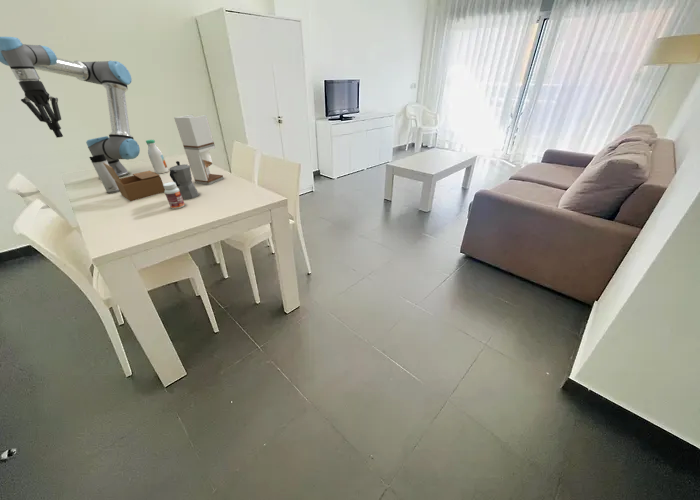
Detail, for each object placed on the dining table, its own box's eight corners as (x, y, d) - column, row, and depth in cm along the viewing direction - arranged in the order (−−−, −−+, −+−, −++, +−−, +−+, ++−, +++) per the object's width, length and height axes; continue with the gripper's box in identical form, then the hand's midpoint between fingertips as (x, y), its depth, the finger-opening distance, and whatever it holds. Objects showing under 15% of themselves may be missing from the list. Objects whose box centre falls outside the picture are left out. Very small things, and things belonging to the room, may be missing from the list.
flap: (122, 183, 137) (121, 184, 137) (114, 178, 145) (113, 178, 145) (112, 167, 132) (111, 167, 132) (103, 162, 140) (102, 163, 140)
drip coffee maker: (209, 184, 161) (189, 117, 143) (195, 182, 165) (174, 117, 146) (223, 178, 170) (206, 115, 152) (210, 176, 174) (191, 114, 155)
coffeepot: (186, 191, 152) (175, 158, 142) (204, 191, 152) (193, 157, 142) (171, 203, 139) (157, 166, 129) (190, 202, 139) (177, 166, 129)
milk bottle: (164, 173, 182) (152, 141, 171) (152, 174, 182) (139, 141, 172) (171, 170, 189) (159, 138, 178) (159, 170, 189) (147, 139, 178)
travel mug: (114, 193, 152) (95, 156, 142) (104, 193, 153) (85, 155, 143) (124, 189, 157) (107, 153, 147) (114, 189, 159) (96, 152, 148)
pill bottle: (183, 208, 133) (174, 185, 127) (169, 209, 132) (159, 186, 126) (186, 203, 138) (178, 181, 132) (172, 204, 137) (164, 182, 131)
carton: (130, 201, 142) (122, 183, 137) (121, 195, 150) (113, 178, 145) (166, 191, 153) (159, 174, 148) (156, 186, 161) (149, 170, 156)
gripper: (5, 81, 120) (39, 139, 132) (42, 80, 123) (72, 137, 136) (16, 80, 126) (48, 136, 138) (51, 79, 129) (79, 134, 142)
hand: (59, 136), depth 137 cm, fingers closed
